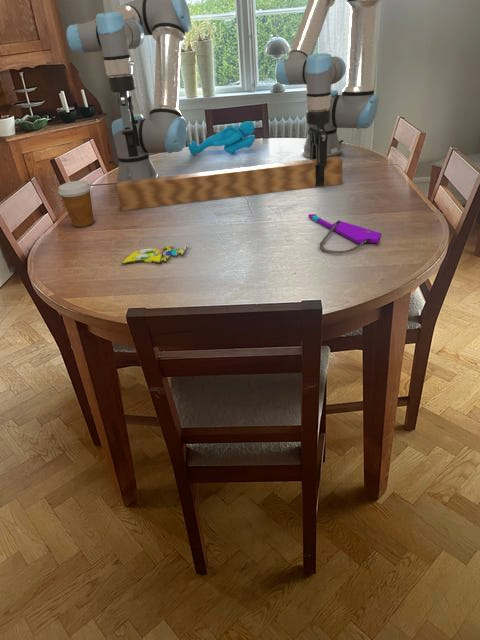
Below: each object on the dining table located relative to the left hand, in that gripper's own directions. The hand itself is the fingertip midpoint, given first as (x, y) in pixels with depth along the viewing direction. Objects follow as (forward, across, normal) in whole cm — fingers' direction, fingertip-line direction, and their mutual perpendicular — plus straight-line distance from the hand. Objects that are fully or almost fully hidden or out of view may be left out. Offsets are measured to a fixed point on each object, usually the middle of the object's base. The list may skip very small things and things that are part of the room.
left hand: (134, 151), depth 150 cm
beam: (+18, 0, -29) cm, 34 cm away
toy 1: (+18, -41, -4) cm, 45 cm away
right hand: (+17, 0, -59) cm, 61 cm away
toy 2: (+18, +58, -32) cm, 69 cm away
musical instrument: (+18, -44, -51) cm, 70 cm away
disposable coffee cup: (+18, -10, +19) cm, 28 cm away
